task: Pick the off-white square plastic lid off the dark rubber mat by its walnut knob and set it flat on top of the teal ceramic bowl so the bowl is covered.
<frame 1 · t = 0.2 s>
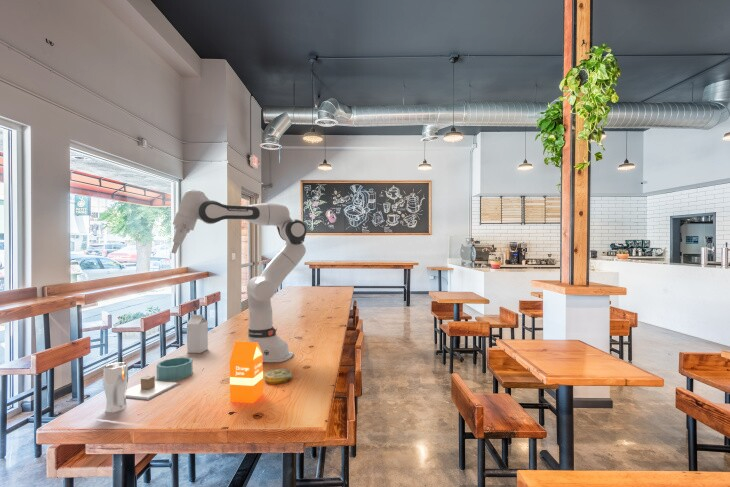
hand: (173, 253, 163), 52 cm above the table, tool tilted 20°, fingers open, 8 cm apart
lid: (147, 390, 138), point 1 cm above the table, touching mat
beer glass: (116, 410, 122), on the table
milk carton: (197, 351, 190), on the table
decorated donut: (278, 381, 148), on the table
bowl: (175, 376, 154), on the table
mat: (147, 391, 138), on the table
orange juice: (247, 398, 131), on the table
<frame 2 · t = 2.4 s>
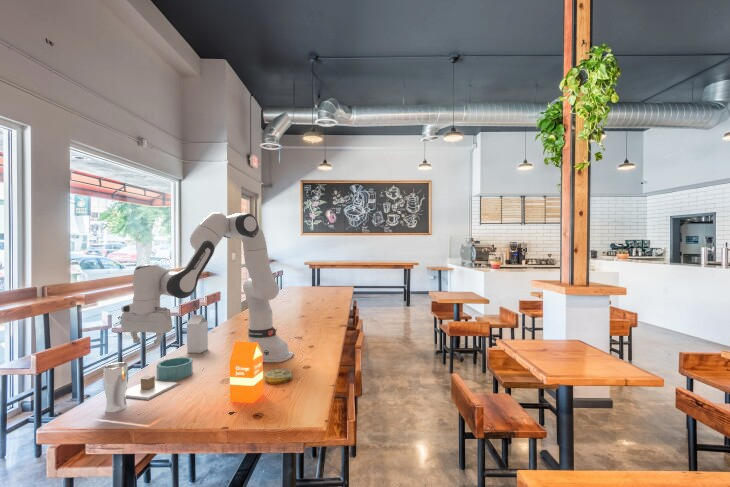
hand: (146, 343, 138), 18 cm above the table, tool pointing down, fingers open, 8 cm apart
nothing on the table moved.
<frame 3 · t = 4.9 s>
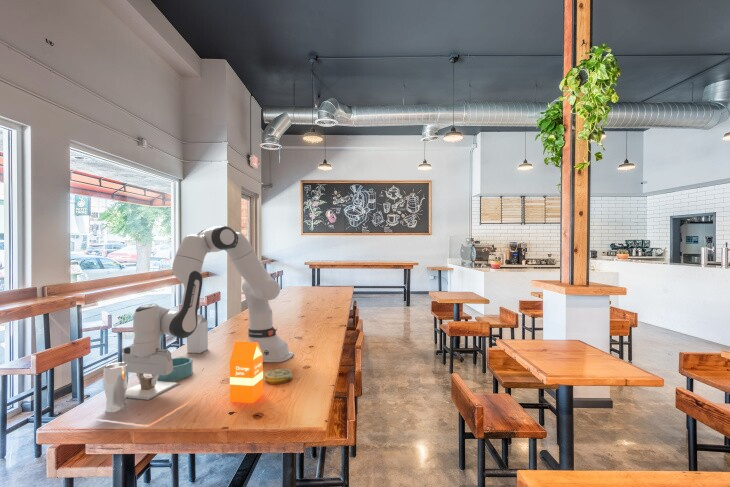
hand: (147, 384, 138), 3 cm above the table, tool pointing down, fingers closed on lid, 3 cm apart
lid: (147, 390, 138), point 1 cm above the table, touching gripper, mat
everything else where it was.
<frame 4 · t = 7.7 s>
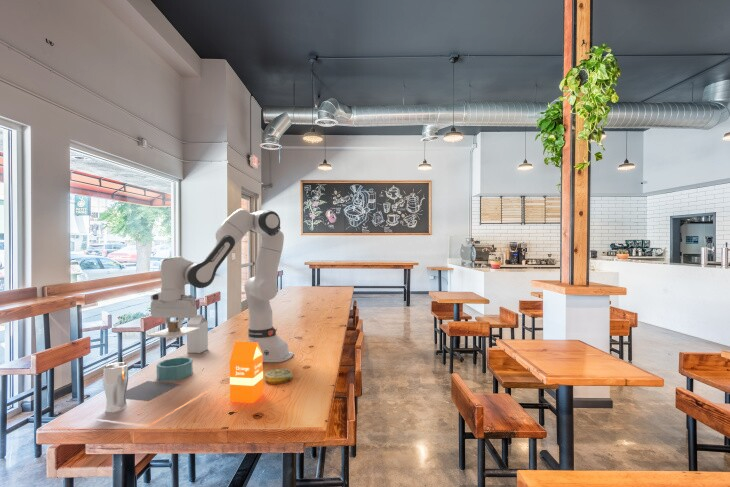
hand: (174, 327, 153), 20 cm above the table, tool pointing down, fingers closed on lid, 3 cm apart
lid: (174, 332, 153), point 18 cm above the table, touching gripper
everything else where it was.
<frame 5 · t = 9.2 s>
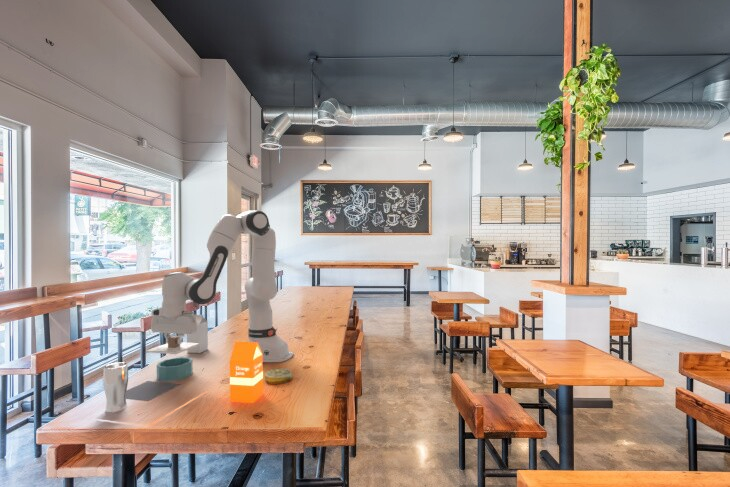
hand: (174, 343, 153), 14 cm above the table, tool pointing down, fingers closed on lid, 3 cm apart
lid: (174, 348, 153), point 12 cm above the table, touching gripper
everything else where it was.
when the fingers open (10 cm above the table, at t = 10.7 s): lid drops 1 cm, resting on bowl.
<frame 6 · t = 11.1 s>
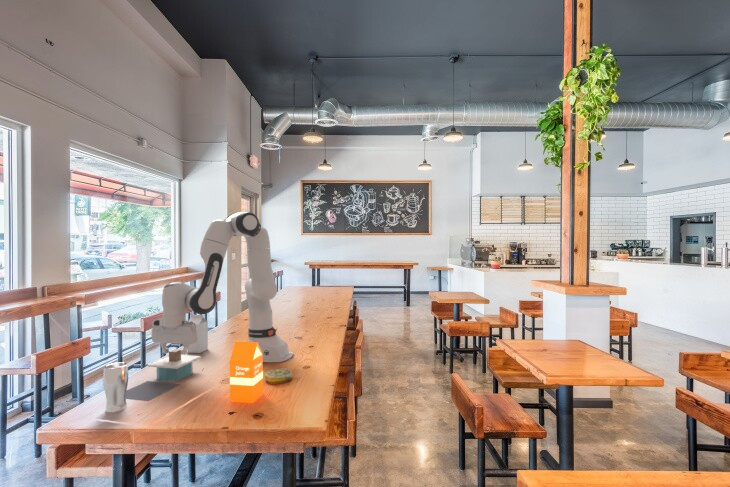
hand: (174, 353, 154), 10 cm above the table, tool pointing down, fingers open, 8 cm apart
lid: (175, 362, 154), point 6 cm above the table, touching bowl
everything else where it was.
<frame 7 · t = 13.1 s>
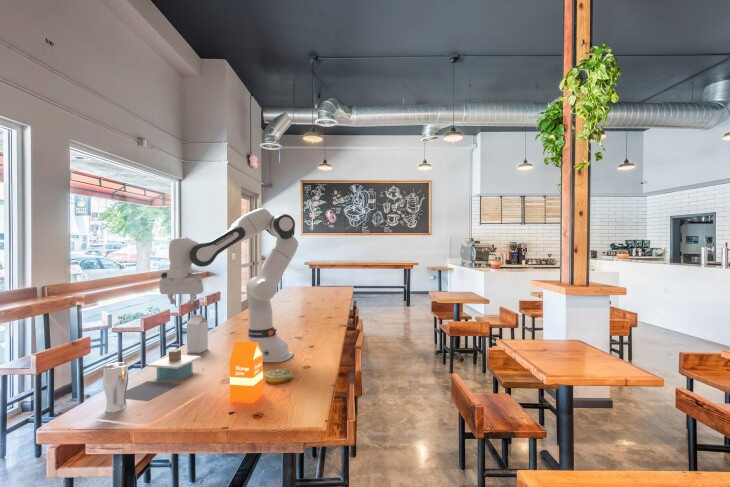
hand: (182, 304, 164), 29 cm above the table, tool pointing down, fingers open, 8 cm apart
nothing on the table moved.
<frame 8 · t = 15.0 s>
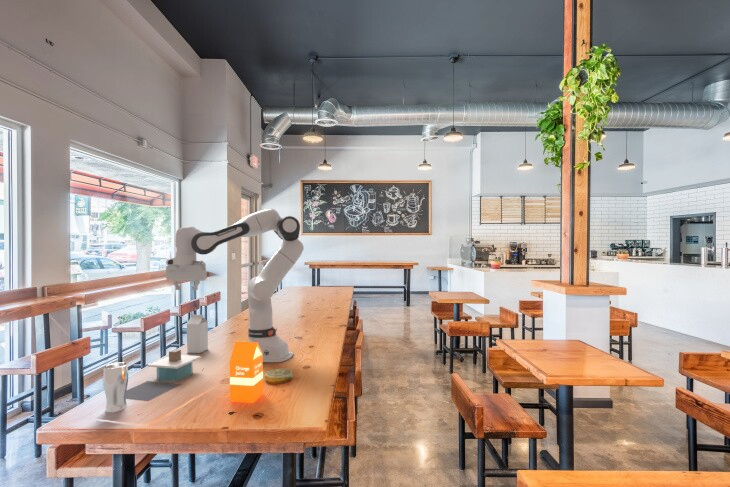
hand: (186, 290, 172), 34 cm above the table, tool pointing down, fingers open, 8 cm apart
nothing on the table moved.
at the end: lid 0.1 cm off-centre on the bowl, point 6.0 cm above the bowl's base; lid tilted 0°; the gripper is holding nothing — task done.
